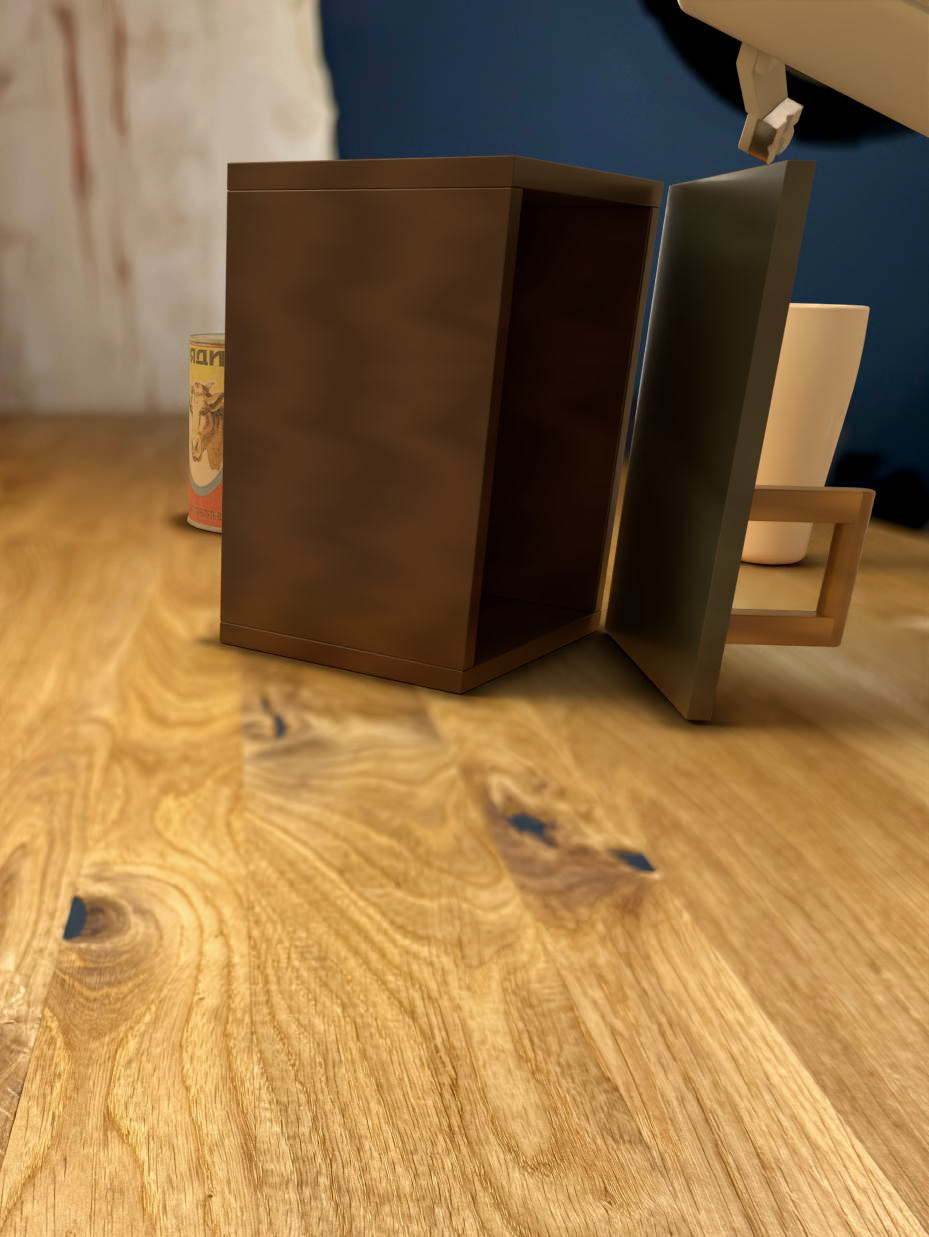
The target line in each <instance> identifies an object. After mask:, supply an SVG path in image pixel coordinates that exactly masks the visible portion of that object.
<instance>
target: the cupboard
mask: <svg viewBox="0 0 929 1237" xmlns="http://www.w3.org/2000/svg"><path fill="white" fill-rule="evenodd" d="M226 166H227V167H226V190H227V191H226V230H225V231H226V234H225V235H226V240H225V290H224V292H225V296H224V298H225V299H224V300H225V301H224V333H225V351H224V412H223V473H222V533H220V534H221V537H220V539H221V543H220V549H221V550H220V600H219V601H220V602H219V603H220V605H219V606H220V607H219V621H220V622H219V643H222V644H227V645H231V646H232V645H233V646H236V647H240V648H245V649H250V650H253V651H254V650H255V651H260V652H265V653H268V654H273V655H277V656H283V657H287V658H291V659H296V660H301V661H305V662H311V663H314V664H320V665H325V666H328V667H333V668H337V669H343V670H348V671H352V672H357V673H361V674H366V675H370V676H375V677H380V678H383V679H384V678H385V679H389V680H395V681H398V682H402V683H403V682H404V683H407V684H412V685H417V686H420V687H421V686H422V687H427V688H431V689H436V690H441V691H444V692H449V693H453V694H458V695H461V694H463V693H465V692H469V691H470V690H472V689H474V688H477V687H478V686H481V685H483V684H485V683H487V682H490V681H491V680H493V679H495V678H498V677H501V676H502V675H504V674H507V673H509V672H511V671H513V670H515V669H518V668H519V667H522V666H524V665H525V664H528V663H530V662H532V661H534V660H536V659H539V658H541V657H542V656H545V655H548V654H550V653H551V652H553V651H556V650H558V649H560V648H562V647H564V646H567V645H569V644H570V643H573V642H575V641H577V640H579V639H581V638H584V637H586V636H588V635H590V634H592V633H594V632H596V631H598V630H600V624H601V619H602V618H601V617H602V612H603V611H602V608H603V602H604V596H605V595H604V594H605V589H606V588H605V587H606V583H607V582H606V580H607V575H608V568H609V561H610V554H611V548H612V547H611V546H612V540H613V533H614V527H615V520H616V512H617V505H618V499H619V493H620V484H621V479H622V472H623V465H624V458H625V450H626V445H627V444H626V443H627V438H628V431H629V425H630V424H629V423H630V416H631V411H632V410H631V409H632V404H633V403H632V402H633V397H634V389H635V382H636V376H637V369H638V361H639V354H640V347H641V340H642V333H643V327H644V319H645V313H646V307H647V301H648V300H647V299H648V291H649V286H650V279H651V273H652V272H651V271H652V265H653V259H654V258H653V257H654V251H655V246H656V245H655V244H656V238H657V231H658V224H659V218H660V217H659V216H660V210H661V209H660V208H661V206H662V201H663V200H662V198H663V192H664V187H665V186H664V184H665V182H664V181H660V180H654V179H649V178H642V177H638V176H632V175H626V174H620V173H615V172H609V171H603V170H599V169H592V168H589V167H588V168H587V167H581V166H576V165H571V164H566V163H560V162H555V161H549V160H542V159H537V158H532V157H526V156H520V155H515V154H513V155H512V154H511V155H509V154H507V155H475V156H474V155H473V156H472V155H470V156H435V157H434V156H433V157H432V156H431V157H429V156H428V157H394V158H358V159H357V158H355V159H319V160H317V159H316V160H315V159H314V160H312V159H311V160H279V161H277V160H276V161H275V160H274V161H273V160H272V161H239V162H235V161H234V162H227V165H226Z"/></svg>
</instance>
